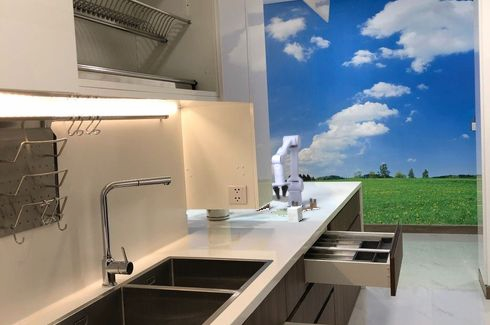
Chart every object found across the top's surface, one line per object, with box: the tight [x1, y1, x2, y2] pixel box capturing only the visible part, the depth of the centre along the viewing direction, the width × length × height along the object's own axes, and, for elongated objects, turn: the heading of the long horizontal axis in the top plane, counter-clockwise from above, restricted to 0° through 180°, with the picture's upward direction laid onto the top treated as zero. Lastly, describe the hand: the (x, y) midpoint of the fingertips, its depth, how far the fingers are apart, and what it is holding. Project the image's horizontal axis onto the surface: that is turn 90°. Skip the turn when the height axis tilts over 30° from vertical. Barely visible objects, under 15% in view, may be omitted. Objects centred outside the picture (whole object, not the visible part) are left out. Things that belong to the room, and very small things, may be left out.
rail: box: [272, 194, 289, 203], centre depth 294 cm, size 16×3×3 cm, turn 22°
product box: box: [286, 207, 304, 223], centre depth 266 cm, size 6×6×7 cm
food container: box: [255, 202, 271, 211], centre depth 310 cm, size 12×6×10 cm, turn 130°
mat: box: [270, 208, 288, 217], centre depth 294 cm, size 20×9×1 cm, turn 22°
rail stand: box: [292, 197, 320, 211], centre depth 298 cm, size 8×15×6 cm, turn 112°
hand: (281, 198), depth 293 cm, fingers closed on rail, 3 cm apart
